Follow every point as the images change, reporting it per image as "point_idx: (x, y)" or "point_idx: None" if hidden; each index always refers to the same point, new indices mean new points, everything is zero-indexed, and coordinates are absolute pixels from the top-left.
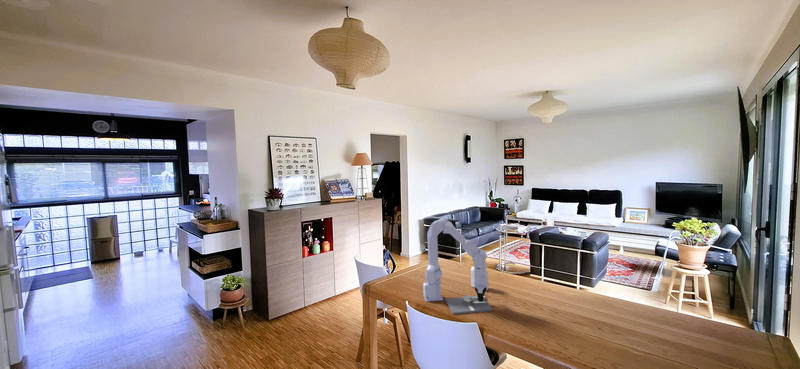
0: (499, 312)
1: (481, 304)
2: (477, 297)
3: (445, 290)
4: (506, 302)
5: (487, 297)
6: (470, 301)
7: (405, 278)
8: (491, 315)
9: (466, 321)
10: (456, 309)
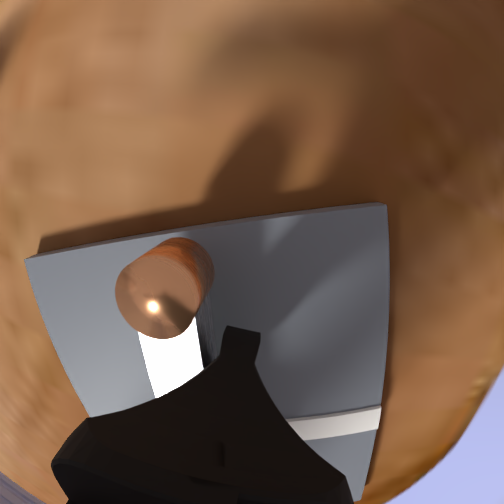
0: (415, 138)
1: (242, 324)
2: None
3: (31, 438)
4: (151, 5)
5: (186, 266)
6: None
7: None
8: (462, 250)
9: (465, 430)
10: None
